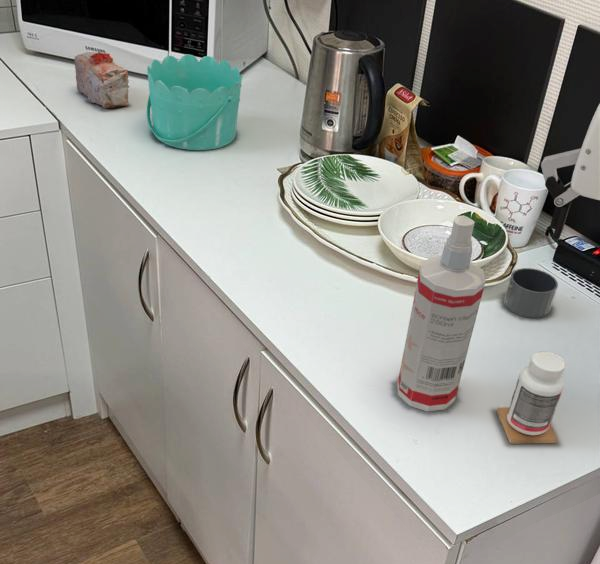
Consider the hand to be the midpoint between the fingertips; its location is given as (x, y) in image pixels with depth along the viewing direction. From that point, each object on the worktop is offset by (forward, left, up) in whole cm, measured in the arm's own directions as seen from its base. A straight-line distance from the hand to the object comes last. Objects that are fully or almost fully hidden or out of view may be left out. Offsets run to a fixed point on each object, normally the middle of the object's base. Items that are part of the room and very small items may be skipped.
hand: (599, 245), depth 92 cm
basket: (+47, -85, -23) cm, 100 cm away
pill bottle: (+4, +5, -23) cm, 23 cm away
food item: (+67, -102, -23) cm, 124 cm away
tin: (-5, -23, -23) cm, 33 cm away
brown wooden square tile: (+4, +5, -23) cm, 24 cm away
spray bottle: (+16, -2, -23) cm, 28 cm away
